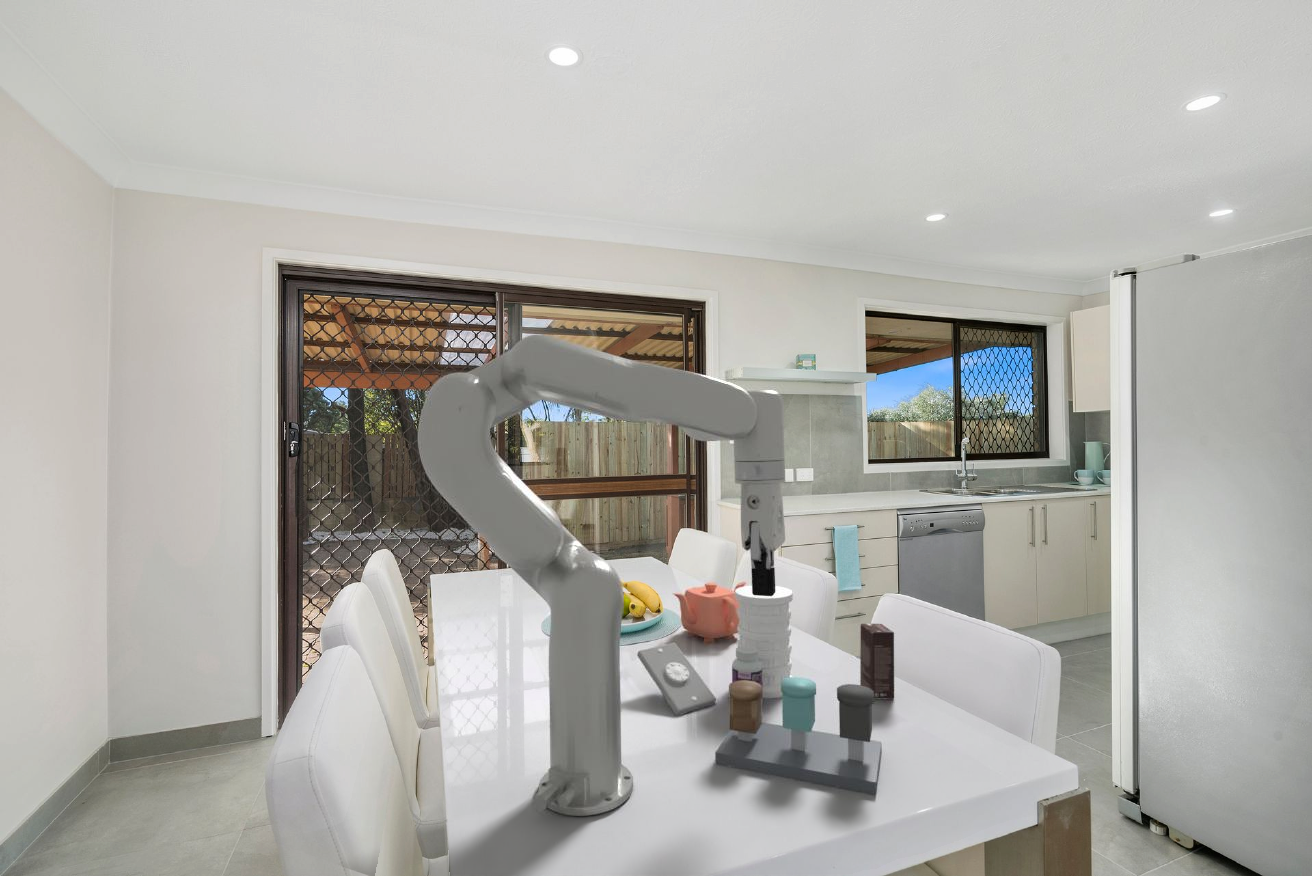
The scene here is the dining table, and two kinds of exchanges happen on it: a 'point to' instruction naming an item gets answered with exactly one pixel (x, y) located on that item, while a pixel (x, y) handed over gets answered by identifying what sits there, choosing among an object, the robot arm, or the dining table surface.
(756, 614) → the decorative container
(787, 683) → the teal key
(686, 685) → the light switch
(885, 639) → the box
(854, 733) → the dark grey round-topped block
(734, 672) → the pill bottle
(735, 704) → the walnut key
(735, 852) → the dining table surface
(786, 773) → the panel
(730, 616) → the teapot
